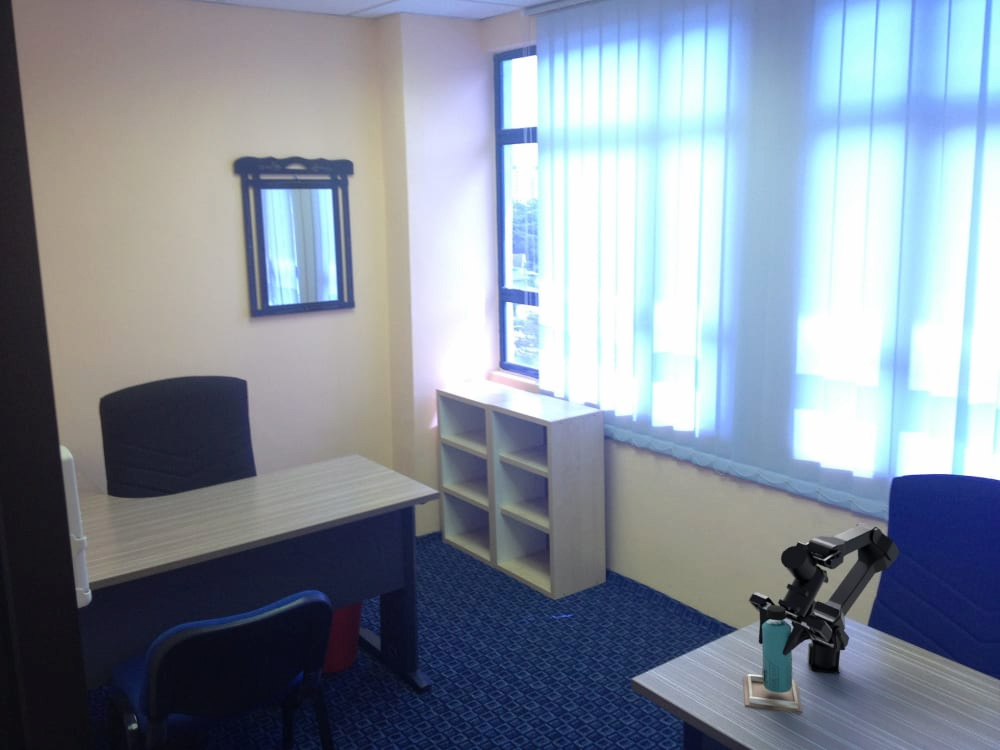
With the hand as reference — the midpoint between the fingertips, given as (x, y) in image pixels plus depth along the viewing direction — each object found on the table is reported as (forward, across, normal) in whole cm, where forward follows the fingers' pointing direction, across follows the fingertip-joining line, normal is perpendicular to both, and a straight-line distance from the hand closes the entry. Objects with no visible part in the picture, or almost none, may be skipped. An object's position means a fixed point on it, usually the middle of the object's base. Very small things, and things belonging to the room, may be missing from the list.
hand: (771, 649), depth 201 cm
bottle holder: (+8, 0, -9) cm, 12 cm away
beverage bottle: (+7, -1, -8) cm, 11 cm away
